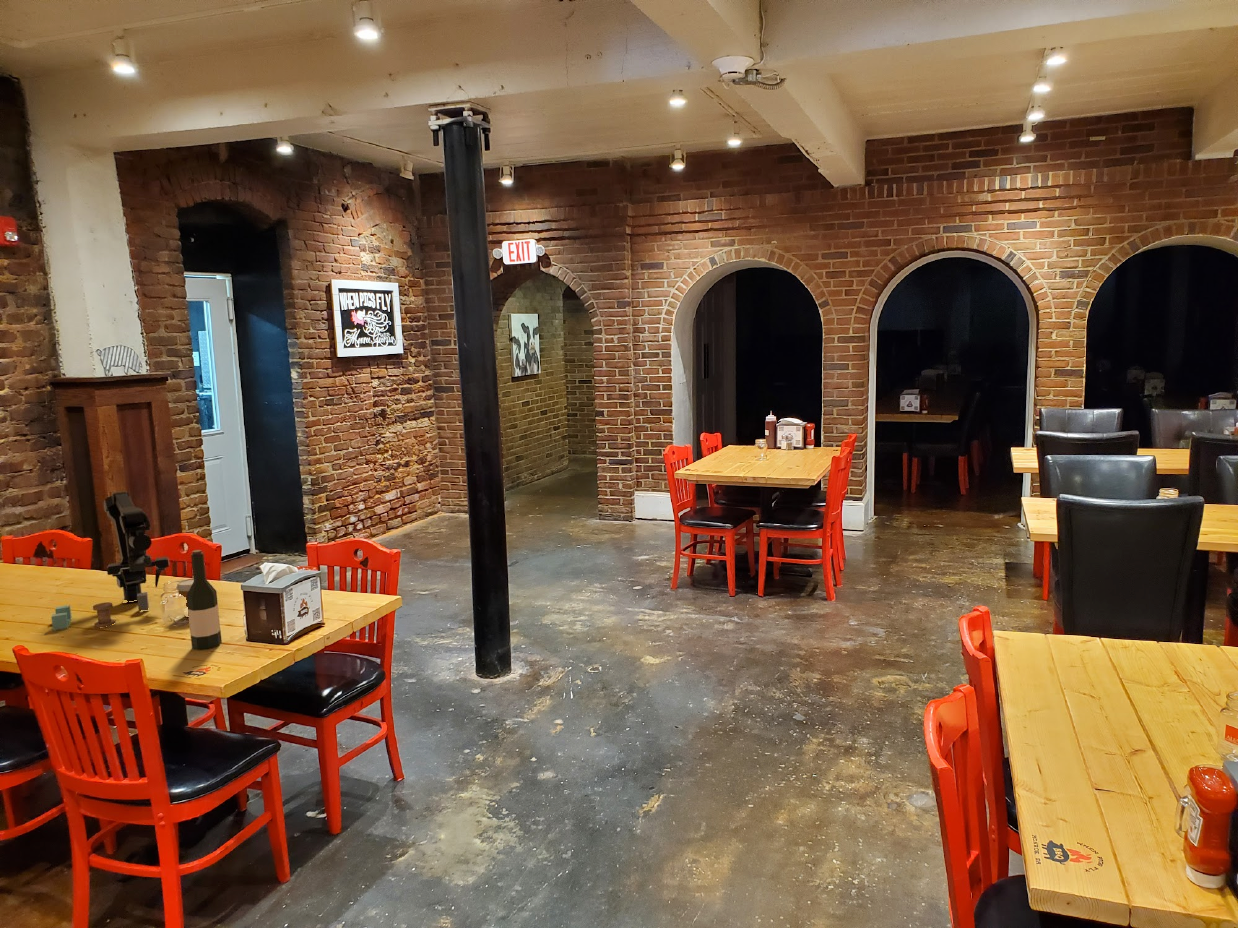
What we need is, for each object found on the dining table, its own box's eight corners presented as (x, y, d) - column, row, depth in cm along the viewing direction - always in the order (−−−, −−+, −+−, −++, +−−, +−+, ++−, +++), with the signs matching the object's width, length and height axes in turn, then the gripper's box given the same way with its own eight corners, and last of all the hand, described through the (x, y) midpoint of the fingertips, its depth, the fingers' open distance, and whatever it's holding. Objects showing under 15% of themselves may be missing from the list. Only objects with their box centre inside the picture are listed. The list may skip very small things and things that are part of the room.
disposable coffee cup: (215, 613, 289) (212, 579, 287) (188, 621, 281) (185, 586, 279) (200, 609, 294) (197, 576, 292) (174, 616, 286) (170, 583, 284)
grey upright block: (139, 609, 295) (137, 593, 295) (149, 608, 297) (147, 592, 296) (138, 612, 292) (136, 596, 291) (148, 611, 293) (146, 594, 292)
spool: (95, 624, 281) (93, 604, 280) (116, 620, 284) (113, 601, 283) (93, 629, 276) (91, 608, 275) (114, 625, 278) (112, 605, 277)
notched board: (58, 620, 286) (56, 606, 285) (71, 618, 288) (70, 604, 287) (53, 630, 276) (51, 616, 275) (67, 628, 277) (65, 614, 277)
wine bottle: (209, 650, 252) (199, 554, 248) (185, 649, 254) (175, 554, 250) (227, 641, 260) (218, 547, 256) (204, 639, 262) (194, 547, 258)
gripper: (103, 554, 280) (108, 599, 282) (166, 547, 288) (171, 590, 290) (106, 548, 289) (111, 591, 292) (166, 540, 298) (171, 582, 300)
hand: (141, 589), depth 293 cm, fingers open, 9 cm apart
